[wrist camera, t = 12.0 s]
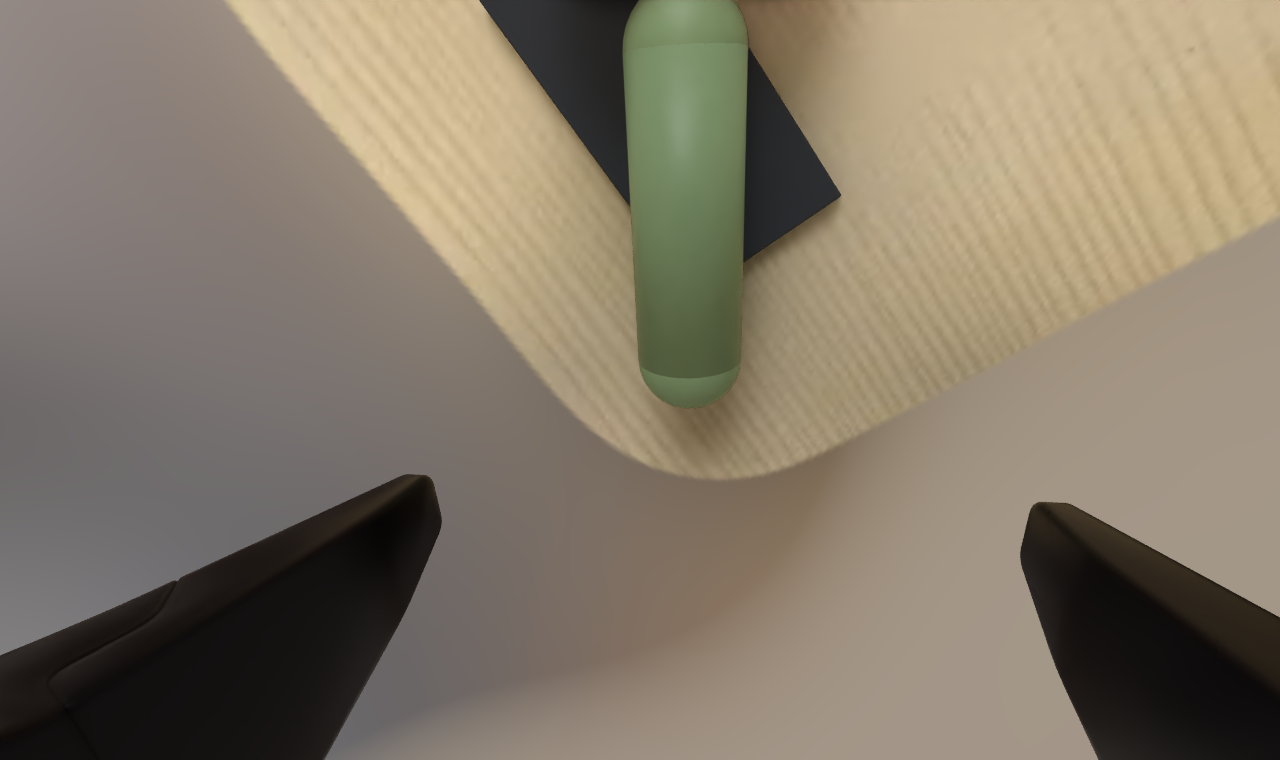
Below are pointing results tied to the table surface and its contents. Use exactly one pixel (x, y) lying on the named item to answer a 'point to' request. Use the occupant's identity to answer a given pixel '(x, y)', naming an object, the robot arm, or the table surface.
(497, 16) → the placemat
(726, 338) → the green pink knobbed rod
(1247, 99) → the table surface
